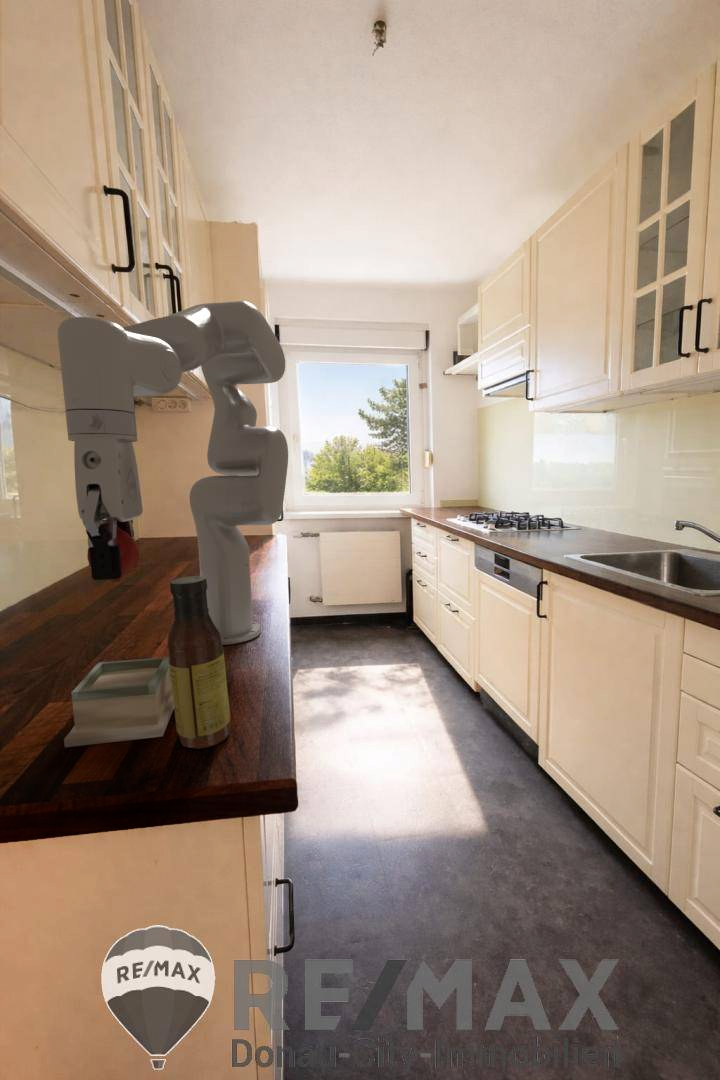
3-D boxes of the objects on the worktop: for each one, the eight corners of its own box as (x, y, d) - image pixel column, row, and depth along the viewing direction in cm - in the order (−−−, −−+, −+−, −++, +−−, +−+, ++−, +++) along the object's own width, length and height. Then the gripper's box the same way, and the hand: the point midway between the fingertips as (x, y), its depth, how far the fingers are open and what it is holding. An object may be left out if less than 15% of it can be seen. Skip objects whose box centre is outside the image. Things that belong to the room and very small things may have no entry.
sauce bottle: (236, 723, 61) (227, 572, 59) (224, 751, 55) (213, 584, 52) (184, 725, 61) (173, 573, 58) (166, 753, 55) (153, 585, 52)
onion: (90, 590, 57) (83, 523, 56) (90, 581, 62) (83, 520, 61) (143, 583, 60) (138, 520, 59) (138, 575, 65) (133, 517, 64)
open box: (99, 700, 68) (95, 659, 67) (180, 693, 70) (177, 652, 69) (64, 747, 57) (59, 698, 56) (162, 736, 59) (158, 688, 58)
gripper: (113, 421, 51) (127, 587, 53) (152, 434, 67) (161, 560, 70) (35, 421, 49) (53, 591, 52) (94, 434, 66) (106, 562, 68)
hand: (115, 572), depth 61 cm, fingers closed on onion, 5 cm apart
